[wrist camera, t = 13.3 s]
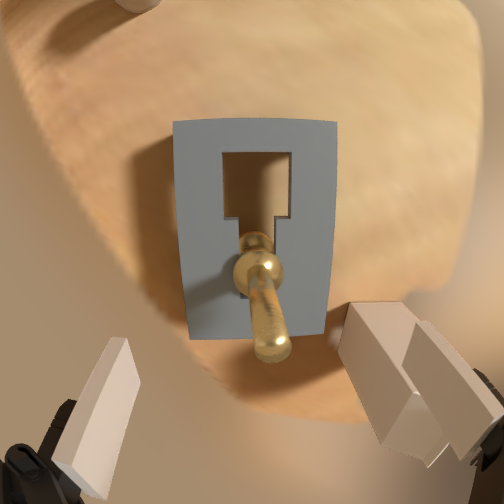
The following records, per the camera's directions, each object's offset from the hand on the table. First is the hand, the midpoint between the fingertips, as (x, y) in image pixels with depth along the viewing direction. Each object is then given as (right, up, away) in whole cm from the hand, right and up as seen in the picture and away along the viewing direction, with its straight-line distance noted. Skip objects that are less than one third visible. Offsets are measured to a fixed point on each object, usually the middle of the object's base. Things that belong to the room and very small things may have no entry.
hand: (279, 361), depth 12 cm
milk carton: (+13, -4, +21) cm, 25 cm away
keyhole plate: (-1, +8, +16) cm, 18 cm away
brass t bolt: (-1, +5, +16) cm, 16 cm away
